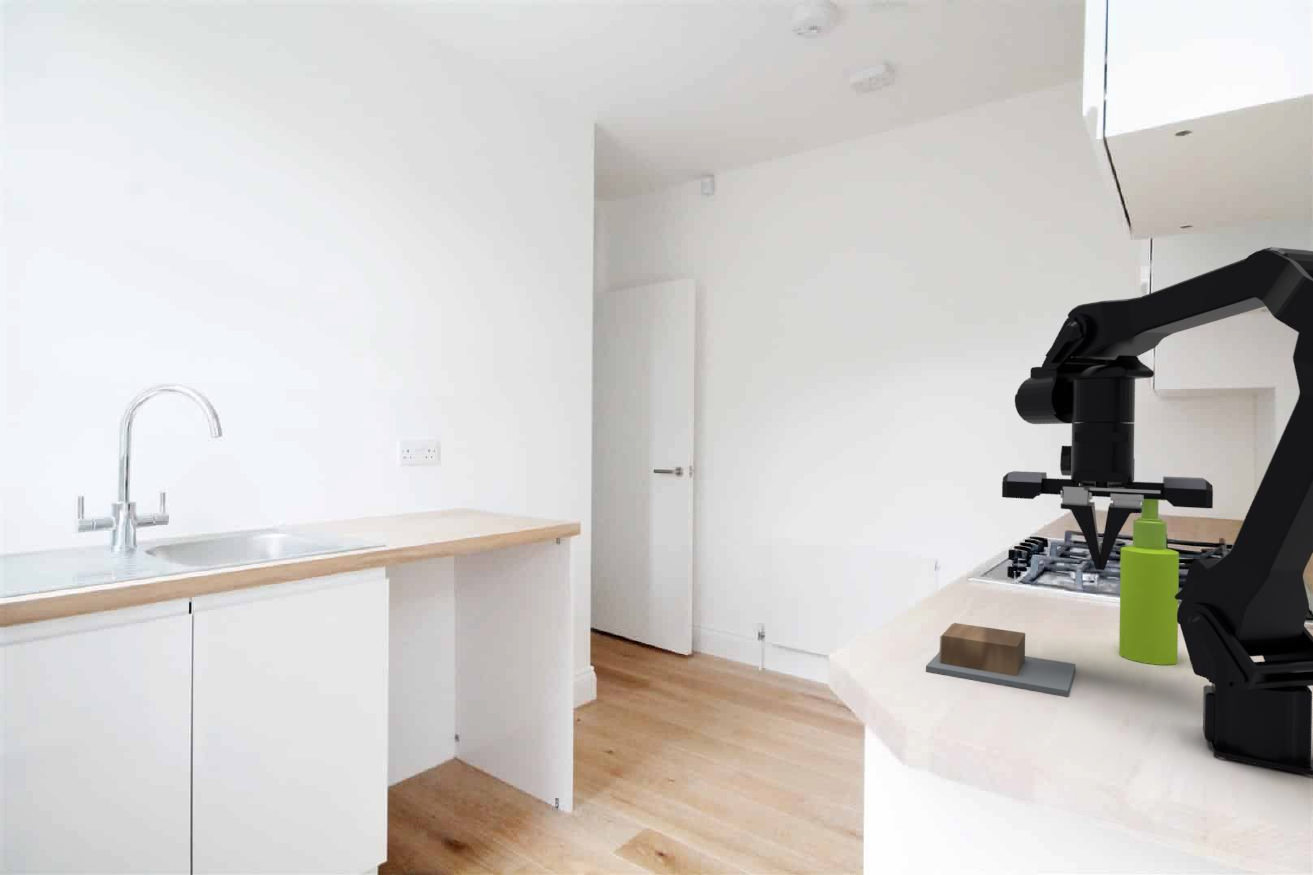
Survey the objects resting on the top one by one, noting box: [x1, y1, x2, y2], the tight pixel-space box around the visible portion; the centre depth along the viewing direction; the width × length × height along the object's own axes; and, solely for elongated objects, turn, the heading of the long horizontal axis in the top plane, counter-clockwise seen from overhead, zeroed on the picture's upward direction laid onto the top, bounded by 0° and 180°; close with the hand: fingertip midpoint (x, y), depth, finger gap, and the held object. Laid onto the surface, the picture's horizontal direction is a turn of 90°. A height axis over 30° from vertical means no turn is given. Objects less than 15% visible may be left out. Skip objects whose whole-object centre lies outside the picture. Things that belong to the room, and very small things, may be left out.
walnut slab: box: [939, 622, 1026, 676], centre depth 85 cm, size 3×7×8 cm
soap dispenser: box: [1118, 499, 1180, 666], centre depth 90 cm, size 6×7×20 cm
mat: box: [925, 651, 1076, 698], centre depth 84 cm, size 14×11×1 cm
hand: (1100, 569), depth 79 cm, fingers closed
